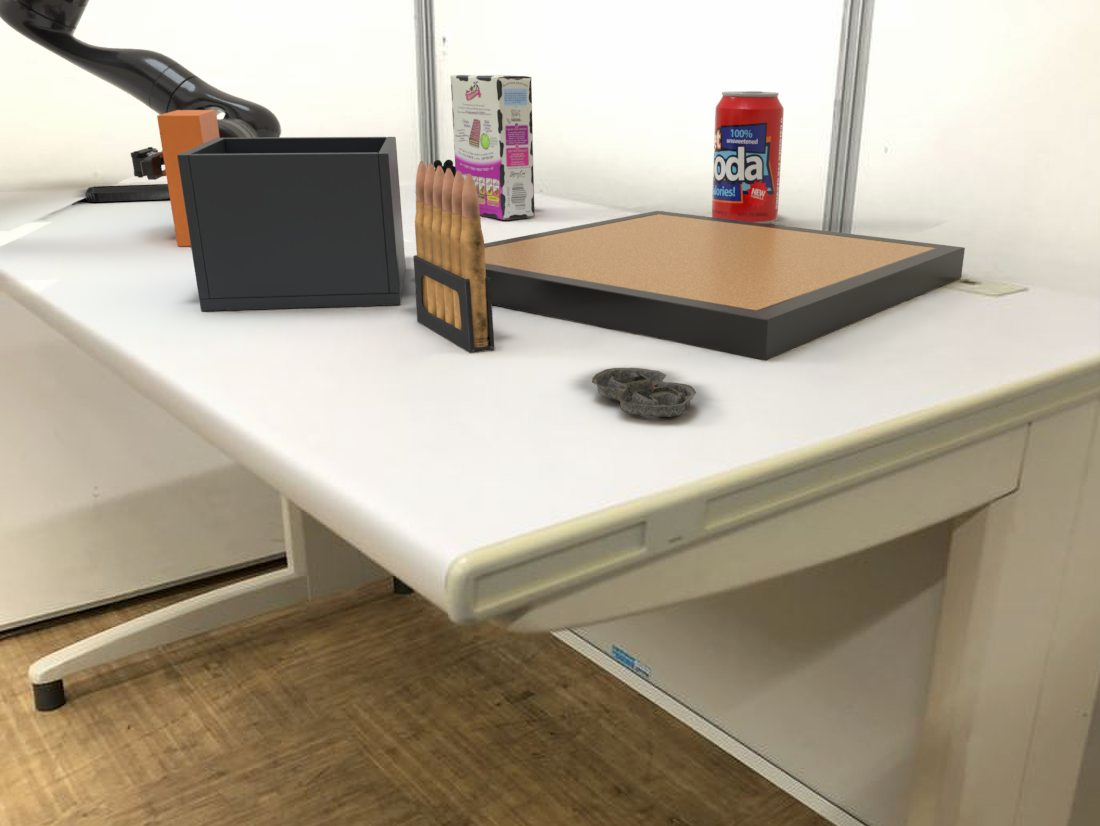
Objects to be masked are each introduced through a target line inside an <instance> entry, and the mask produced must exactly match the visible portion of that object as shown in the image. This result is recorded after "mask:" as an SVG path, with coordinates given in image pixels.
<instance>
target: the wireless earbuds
mask: <svg viewBox="0 0 1100 826" xmlns="http://www.w3.org/2000/svg"><path fill="white" fill-rule="evenodd" d="M438 166H441V167H442V169H443V171H444V174H445V172H446V170H447V168H450V169H451V171H452V173H453V176H454V178H455V174H456V173H455V165H454V161H453V160H452V159H446V160H445V161H444V162H442V161H441V160H440V159H436V160H434V161H433V167H434V169H435V172H436V169H437V167H438Z"/></svg>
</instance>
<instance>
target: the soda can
mask: <svg viewBox="0 0 1100 826" xmlns="http://www.w3.org/2000/svg"><path fill="white" fill-rule="evenodd" d="M721 95H722V97H721V98H720V100H719V102H718V103H717V104H716V106H715V110H714V111H715V112H714V136H713V137H714V138H713V139H714V140H713V141H714V142H713V171H712V197H711V217H714V218H722V219H731V220H739V221H747V222H756V223H764V224H772V223H774V222H775V221H777V219H778V216H779V215H778V214H779V201H780V199H779V198H780V185H781V184H780V183H781V167H782V166H781V163H782V146H783V131H784V114H785V113H784V112H785V110H784V106H783V104H782V103H781V101H780V99H779V92H775V91H774V92H773V91H763V90H762V91H761V90H757V91H756V90H746V91H743V90H742V91H739V90H738V91H737V90H735V91H722V92H721Z"/></svg>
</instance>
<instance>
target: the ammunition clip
mask: <svg viewBox="0 0 1100 826" xmlns="http://www.w3.org/2000/svg"><path fill="white" fill-rule="evenodd" d="M435 169H436V168H435V167H434V164H432V163H431V162H429V163H428V165H427V166H426V163H425V162H424V161H423V160H420V161H419V163H418V165H417V171H416V175H415V176H416V177H415V216H414V231H415V247H416V249H415V250H416V255H413V257H412V258H413V273H414V289H415V306H416V321H417V322H418V323H419V324H421V325H422V326H425V327H426V328H428V329H429V330H431V331H432V332H434V333H436V334H438V335H439V336H441V337H442V338H444V339H446V340H447V341H449V342H451V343H452V344H454V345H455V346H458V347H459V348H461V349H462V350H464V351H466V352H467V353H469V354H473V353H480V352H488V351H494V350H495V334H494V319H493V318H494V317H493V305H492V300H491V284H490V277H488V276H486V267H485V248H484V243H485V239H484V234H483V230H482V220H481V215H480V212H479V201H478V195H477V190H476V187H475V183H474V180H473V178H472V176H471V174H470V173H468V174H467V175H466V178H465V181H464V178H463V176H462V174H461V172H460V171H457V172H456V174H455V178H454V176H453V173H452V171H451V169H450V168H447V170H446V172H445V174H444V171H443V169H442V167H441V166H438V167H437V169H436V172H435Z"/></svg>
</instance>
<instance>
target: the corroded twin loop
mask: <svg viewBox="0 0 1100 826" xmlns="http://www.w3.org/2000/svg"><path fill="white" fill-rule="evenodd" d="M666 377H667V374H666V373H663V372H661V371H659V370H654V369H649V368H641V367H611V368H606V369H604V370H601V371H600V372H597V373H596V374H595V375H594V376H593V377H592V379H591V383H593V384H594V385H596V387H597V392H598V394H600V395H601V396H602V397H603V398H609V399H612V400H618V401H619V404H620V409H621V410H622V411H624V412H625V413H627V414H628V415H636V416H641V417H650V418H651V417H653V418H663V417H665V418H666V417H667V418H672V417H677V416H681V414H683V413H684V412H685V411H686V408H688V407H689V406H690V404H691V401H693V398H694V397H695V395H696V394H697V391H696V390H695V388H694V387H693V386H691V385H690V384H685V383H679V382H671V381H664V379H665V378H666Z"/></svg>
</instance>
